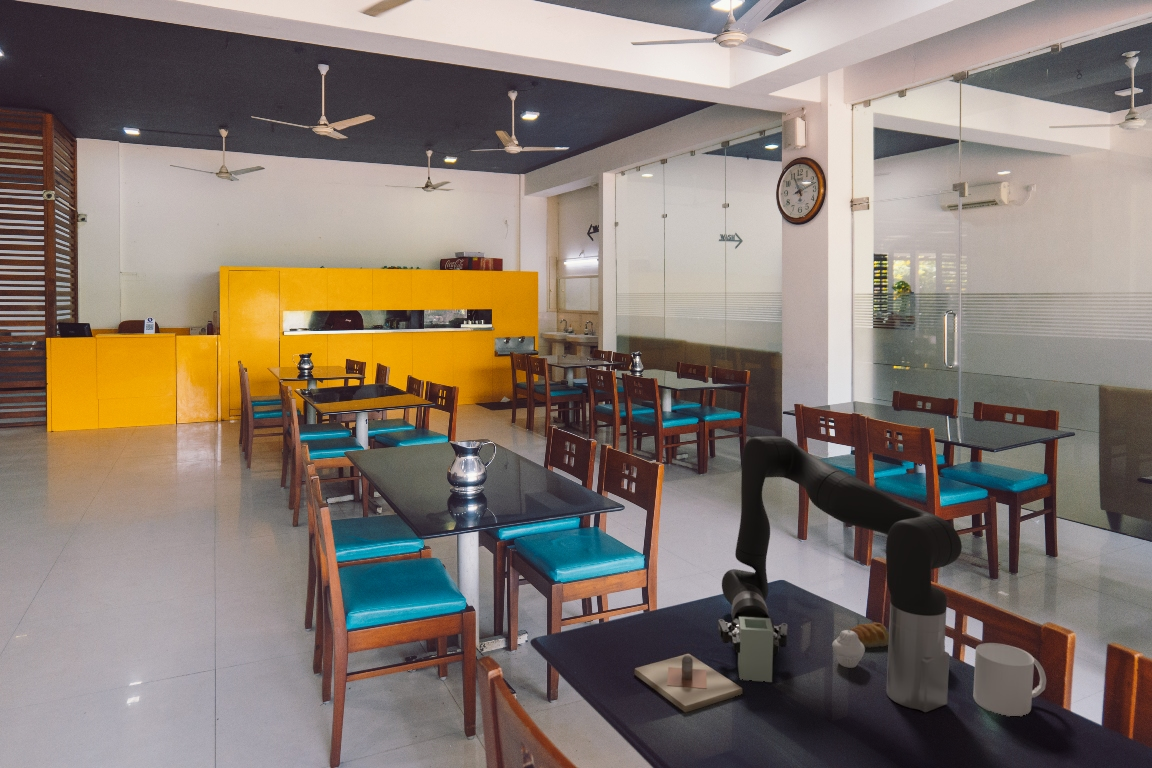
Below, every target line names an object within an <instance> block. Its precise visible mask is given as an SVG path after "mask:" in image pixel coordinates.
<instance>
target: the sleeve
mask: <svg viewBox="0 0 1152 768" xmlns="http://www.w3.org/2000/svg"><path fill="white" fill-rule="evenodd" d="M771 623H772V619H771V618H770V617H769V618H754V617H739V637H740V653H737V669H738V677H739V678H740V679H739V681H749V680H752V681H751V682H763V681H765V682H766V683H773V661H774V660H773V658H774V655H773V628H772V624H771ZM742 679H743V680H742Z"/></svg>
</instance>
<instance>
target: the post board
mask: <svg viewBox="0 0 1152 768" xmlns="http://www.w3.org/2000/svg"><path fill="white" fill-rule="evenodd" d="M634 675H635V676H636V677H637V678H639V679H640V680H641V681H643V682H644V683H646V684H647V685H648V686H649V687H650V688H652V689H654V690H655V691H656V692H657V693H659V695H661V696H663V697H664V698H665V699H667V701H669V702H671V703H672V704H673V705H675V707H677V708H678V709H680V710H681V711H682V712H684V713H688V712H691V711H695V710H697V709H701V708H704V707H707V706H710V705H714V704H716V703H720V702H722V701H725V700H729V699H732V698H735V696H736V697H738V695H739V696H741V694H742V695H743V687H741V686H740V685H738V684H737V683H735V682H733V681H732V680H731V679H729V678H727V677H726V676H724V675H723V674H721V673H720V672H718V671H716V670H715V669H713V668H712V667H711V666H708V665H707V664H706V663H704V662H702V661H701V660H699V659H698V658H697V657H695V656H693V655H691V654H690V653H685V654H683V655H679V656H676V657H671V658H668V659H663V660H660V661H657V662H653V663H652V662H651V663H650V664H646V665H642V666H638V667H635V668H634Z"/></svg>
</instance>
